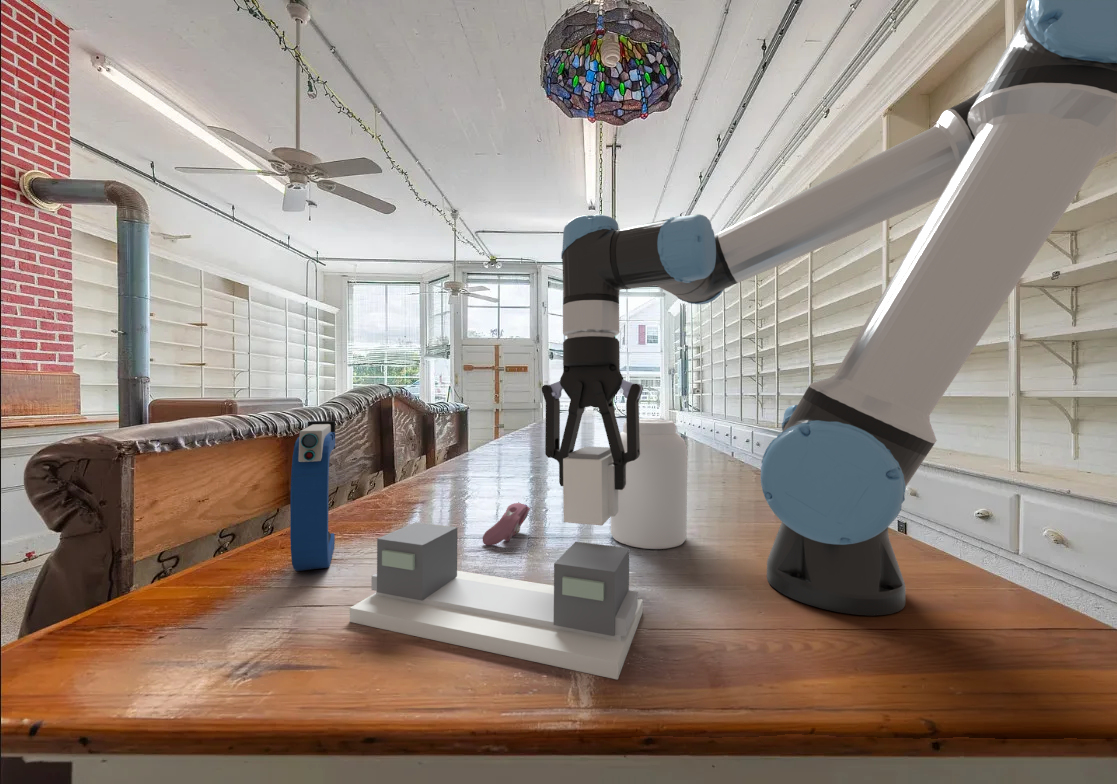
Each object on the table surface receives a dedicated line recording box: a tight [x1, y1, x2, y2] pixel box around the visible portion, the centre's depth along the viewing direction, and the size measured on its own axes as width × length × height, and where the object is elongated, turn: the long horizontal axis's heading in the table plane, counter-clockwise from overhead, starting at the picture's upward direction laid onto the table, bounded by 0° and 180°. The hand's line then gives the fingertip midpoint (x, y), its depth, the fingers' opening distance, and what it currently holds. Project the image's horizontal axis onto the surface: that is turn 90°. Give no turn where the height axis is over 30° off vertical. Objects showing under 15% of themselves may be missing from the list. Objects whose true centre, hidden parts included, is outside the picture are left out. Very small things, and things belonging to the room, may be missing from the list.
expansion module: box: [562, 446, 614, 527], centre depth 63 cm, size 5×9×9 cm, turn 160°
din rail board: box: [349, 521, 644, 680], centre depth 52 cm, size 29×13×8 cm, turn 71°
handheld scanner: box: [289, 420, 336, 572], centre depth 68 cm, size 5×16×20 cm, turn 21°
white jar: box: [610, 418, 688, 550], centre depth 80 cm, size 12×12×20 cm
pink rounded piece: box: [482, 501, 531, 547], centre depth 79 cm, size 10×5×7 cm, turn 169°
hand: (592, 511), depth 63 cm, fingers closed on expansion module, 5 cm apart
